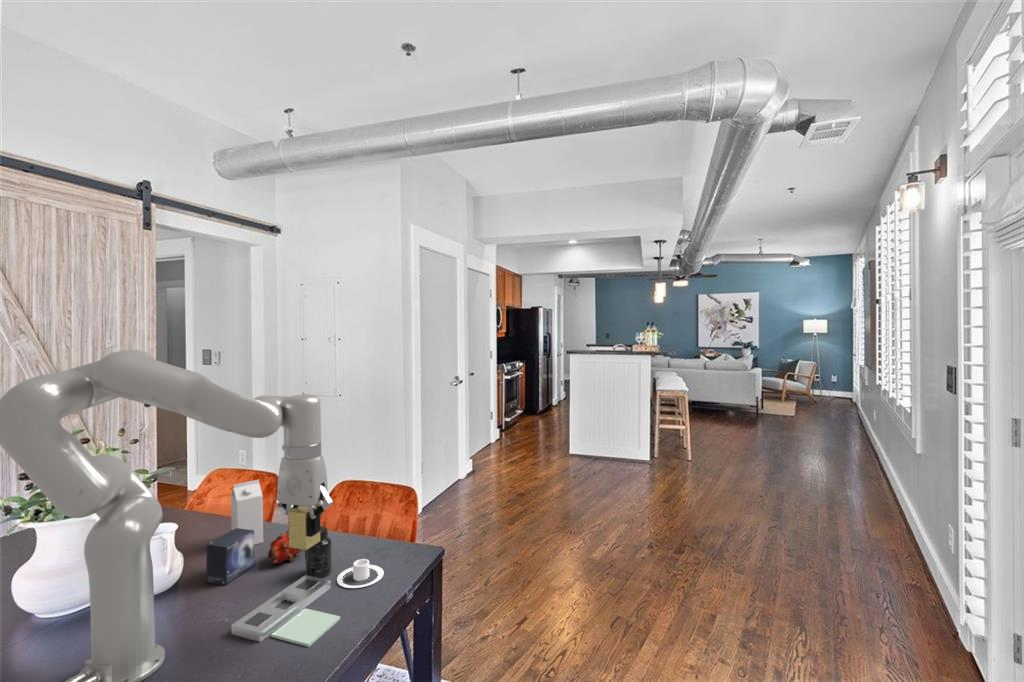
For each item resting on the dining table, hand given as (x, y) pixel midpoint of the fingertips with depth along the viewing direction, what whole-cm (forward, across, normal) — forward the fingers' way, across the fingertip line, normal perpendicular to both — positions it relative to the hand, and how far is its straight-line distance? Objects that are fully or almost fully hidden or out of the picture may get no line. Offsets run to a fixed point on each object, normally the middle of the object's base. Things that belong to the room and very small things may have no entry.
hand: (304, 531), depth 106 cm
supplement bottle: (+22, -13, +20) cm, 32 cm away
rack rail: (+21, -10, +4) cm, 24 cm away
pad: (+21, 0, 0) cm, 21 cm away
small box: (+22, -35, +12) cm, 43 cm away
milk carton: (+22, -47, +28) cm, 59 cm away
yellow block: (+3, 0, 0) cm, 3 cm away
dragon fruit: (+22, -27, +23) cm, 42 cm away
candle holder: (+22, -1, +22) cm, 31 cm away
